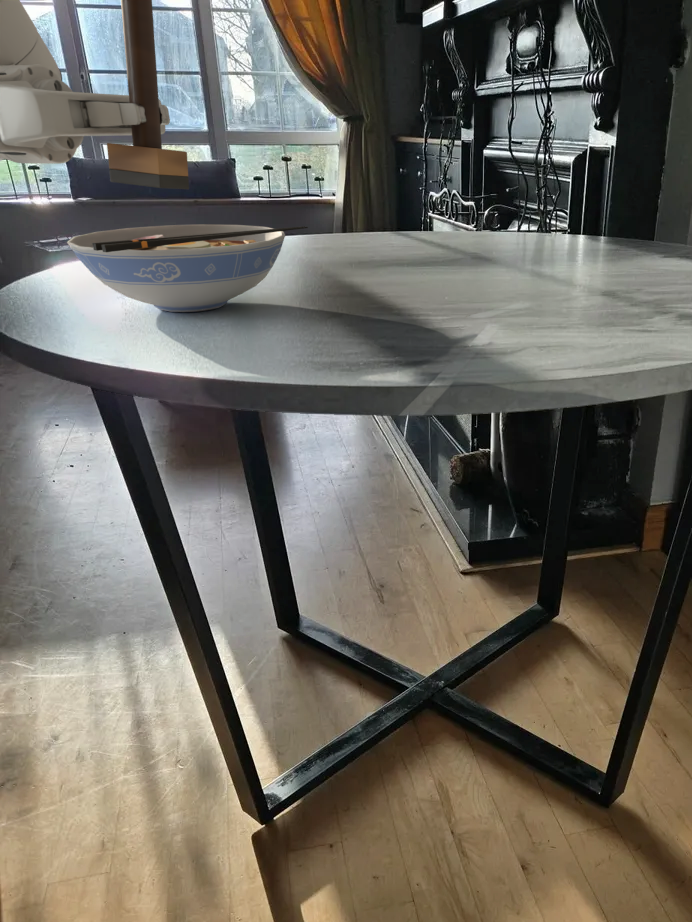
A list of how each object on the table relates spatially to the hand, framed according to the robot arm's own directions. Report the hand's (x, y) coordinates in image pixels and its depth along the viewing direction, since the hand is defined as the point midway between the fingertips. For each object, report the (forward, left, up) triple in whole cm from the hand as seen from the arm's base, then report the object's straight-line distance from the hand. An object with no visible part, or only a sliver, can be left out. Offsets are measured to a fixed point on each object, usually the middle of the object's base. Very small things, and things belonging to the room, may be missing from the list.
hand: (153, 114), depth 79 cm
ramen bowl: (+1, 0, -19) cm, 19 cm away
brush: (-2, 0, -6) cm, 6 cm away
